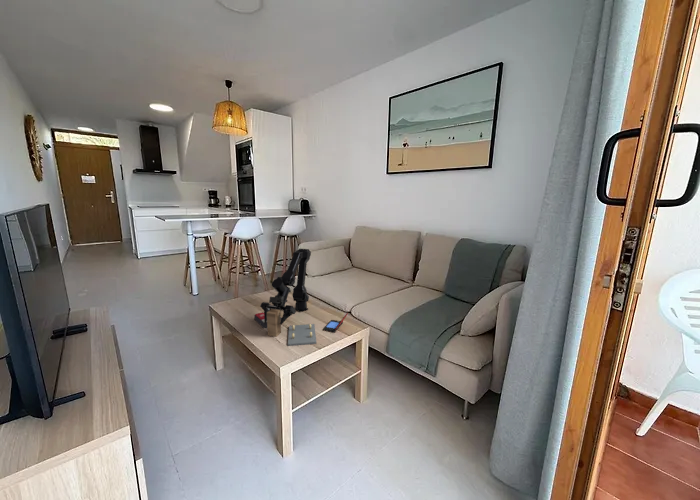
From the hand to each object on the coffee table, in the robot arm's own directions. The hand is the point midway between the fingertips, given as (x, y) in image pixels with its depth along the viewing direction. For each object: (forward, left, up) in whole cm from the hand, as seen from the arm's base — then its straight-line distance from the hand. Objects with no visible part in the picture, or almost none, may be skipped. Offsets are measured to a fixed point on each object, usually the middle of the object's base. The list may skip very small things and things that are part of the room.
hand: (272, 323), depth 152 cm
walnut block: (-1, -1, -7) cm, 7 cm away
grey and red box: (-6, -17, -7) cm, 20 cm away
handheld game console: (-30, +16, -7) cm, 35 cm away
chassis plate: (-11, +10, -7) cm, 17 cm away
